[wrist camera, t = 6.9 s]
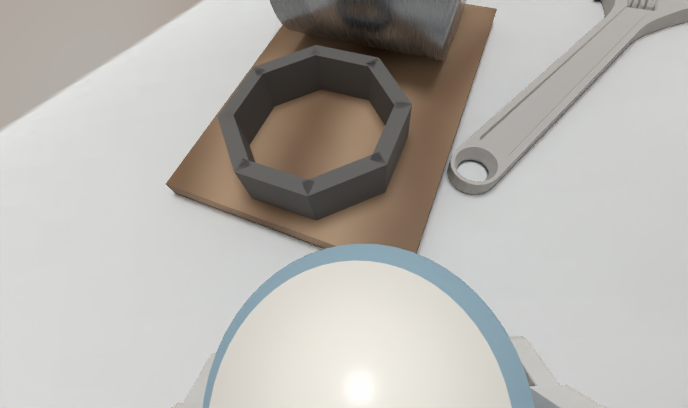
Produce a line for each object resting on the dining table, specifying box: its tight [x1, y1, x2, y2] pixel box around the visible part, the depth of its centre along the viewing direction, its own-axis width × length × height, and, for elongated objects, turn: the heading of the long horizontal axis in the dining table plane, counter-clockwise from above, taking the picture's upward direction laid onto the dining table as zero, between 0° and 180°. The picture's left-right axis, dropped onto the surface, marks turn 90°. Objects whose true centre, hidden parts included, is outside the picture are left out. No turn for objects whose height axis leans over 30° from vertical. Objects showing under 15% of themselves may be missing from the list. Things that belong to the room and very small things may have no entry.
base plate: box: [166, 4, 497, 253], centre depth 21 cm, size 14×20×1 cm
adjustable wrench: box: [447, 0, 688, 194], centre depth 21 cm, size 25×6×2 cm, turn 128°
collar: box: [217, 45, 412, 220], centre depth 18 cm, size 9×9×2 cm
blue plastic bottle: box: [203, 244, 534, 408], centre depth 9 cm, size 5×5×12 cm
